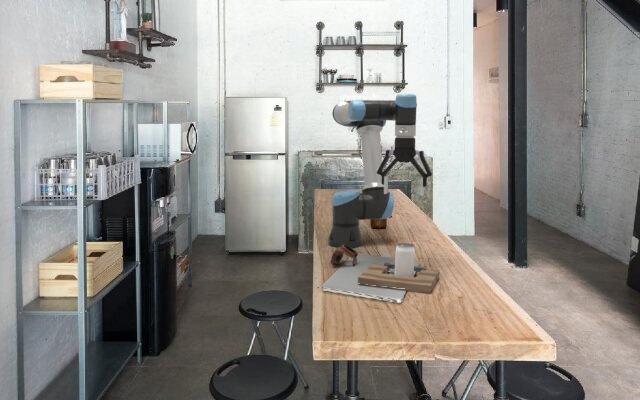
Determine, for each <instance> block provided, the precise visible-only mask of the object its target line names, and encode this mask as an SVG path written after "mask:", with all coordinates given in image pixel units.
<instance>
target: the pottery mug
mask: <svg viewBox="0 0 640 400" xmlns="http://www.w3.org/2000/svg"><path fill="white" fill-rule="evenodd" d="M344 255H345V256H347V257H350V259H352V263H351V265H352V264H355V265H356V263H357V262H358V258H357V256H358V255H359V254H358V252H357V251H356V250H354V248H353V247H351V248H350V247H349V246H347V245H342V246H341V247H336V249H334V251H333V252H332V255H331V258H330V259H331V260H330V261H329V262H330V264H331V265H332V266H333V265H334V266H335V265H340V264H341V261H342V259H343V258H344Z"/></svg>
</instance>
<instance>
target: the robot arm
mask: <svg viewBox="0 0 640 400" xmlns="http://www.w3.org/2000/svg"><path fill="white" fill-rule="evenodd" d="M417 102H418V101H417V95H416V94H413V93H399V94H396V96H395V100H384V99H382V100H373V99H372V100H369V99H367V100H365V99H355V100H344V101H341V102H338V103H337V104H335V106H334V107H333V108H332V112H331V113H332V115H331V116H332V119H333V121H334V122H336V123H337V124H338V125H340V126H343V127H349V128H356V132H357V133H358V134H359V135H360V142H361V153H362V155H361V156H362V167H363V177H364V178H363V179H364V187H363V188H362V189H361V192H360V190H357V189H347V190H341V191H337V192H335V193H333V196H332V203H331V206H332V209H331V210H332V215H331V216H332V217H331V218H332V220H331V221H332V224H331V229H330V233H329V236H328V243H327V244H328V245H329V246H331V247H335V248H338V247H341V246H342V245H347V246H349V247H350V248H357V247H361V246H363V244H364V239H363V236H362V233H361V228H360V221H362V220H363V221H365V220H367V221H369V220H378V221H379V220H380V221H381V220H385V219H386V220H387V219H389V218H390V217H391V216H392V213H393V210H394V204H395V197H394V194H393V192H391V191H390V192H389V187H388V186H389V185H388V184H389V176H388V175H387V174H389V172H390V171H391V169H392V168H393V167H394V166H395V165H397V163H398V162H399V163H411V165H412V166H413V167H414V168H415V169H416V171H417V172H418V173H419V174H420V176H421V177H420V185H419V186H420V187H419V188H420V189H419V191H420V192H419V196H420V197H423V196H424V195H425V194H424V191H425V190H424V189H425V188H426V187H427V184H428V178H429V177H431V176H433V172H432V170H431V168H430V166H429V164H428V162H427V159H426V157H425V152H424V150H416V138H415V137H416V135H417V134H416V131H417V128H416V127H417V107H418V103H417ZM387 121H394V122H395V123H394V136H395V138H394V150H391V149H386V150H385V153H384V155H385V156H384V157H383V155H382V143H381V132H382V131H383V130H384V129H383V128H384V127H385V125H386V123H387ZM392 155H393V156H394V159H393V160H392V161H391V163H390V164H389V165H388V166H387V167H386V168H385V166H386V165H387V162H388V161H389V159H390V157H391V156H392ZM416 155H417V157H418V158H419V159H420V161H421V164H422V165H423V168H424V169H423V168H422V167H421V165H420V164H419V163H418V162H417V160H416V158H415V157H416ZM384 168H385V169H384ZM424 187H425V188H424Z"/></svg>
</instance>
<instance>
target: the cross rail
mask: <svg viewBox="0 0 640 400" xmlns="http://www.w3.org/2000/svg"><path fill="white" fill-rule="evenodd" d="M383 265H384V266H388V271H390V272H391V270H395V263H388V262H385V263H383ZM426 269H427V267H425V266H416V265H414V272H418V273H420V271H421V270H426Z"/></svg>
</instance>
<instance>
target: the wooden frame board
mask: <svg viewBox="0 0 640 400" xmlns="http://www.w3.org/2000/svg"><path fill="white" fill-rule="evenodd" d="M387 272H388V266H384V263H383V264H380V263H372V264H371V265H370V266H368V267H367V268H366V269H365V270H364V271H363V272H362V273H361V274H360V275H358V276H357V284H358V283H360V284H368V285H376V286H387V287H396V288H405V289H406V290H405V291H408V292H414V293H415V292H416V293H425V294H431V293H432V291H433V289H434V288H435V286H436V284H437V282H438V281H439V278H440V269H439V270H437V269H428V268H426V270H421V271H420V272H418V274H417V276H416V277H415V276H413V277H407V276H398V275H395V274H389V273H387ZM386 273H387V274H386Z"/></svg>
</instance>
